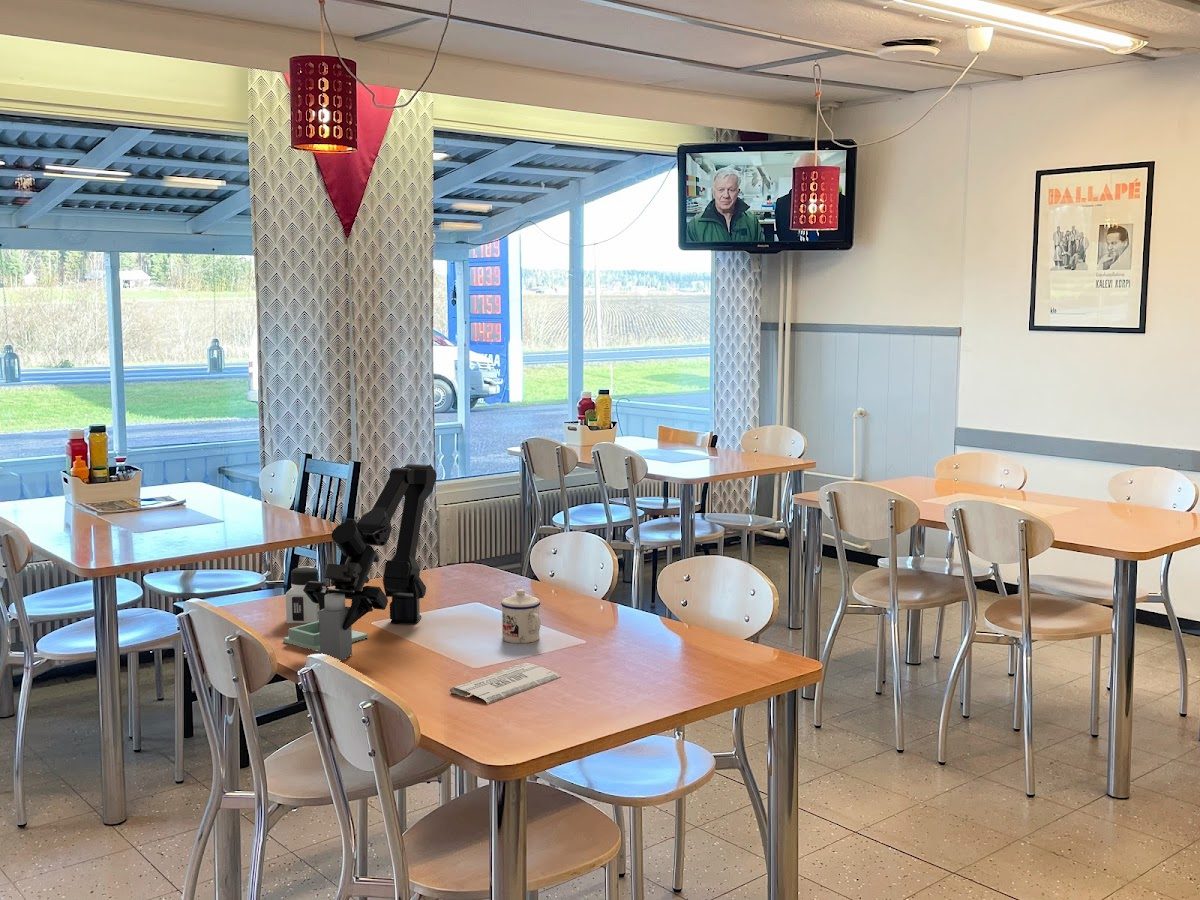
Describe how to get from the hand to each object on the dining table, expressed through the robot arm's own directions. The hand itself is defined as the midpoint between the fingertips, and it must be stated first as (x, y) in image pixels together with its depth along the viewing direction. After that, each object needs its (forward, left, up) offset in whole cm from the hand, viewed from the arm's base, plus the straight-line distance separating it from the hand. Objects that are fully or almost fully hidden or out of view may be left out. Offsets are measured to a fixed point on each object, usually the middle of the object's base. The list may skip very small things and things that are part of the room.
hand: (332, 628), depth 254 cm
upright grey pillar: (0, -1, -7) cm, 7 cm away
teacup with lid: (-40, -17, -7) cm, 44 cm away
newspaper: (-39, +15, -8) cm, 43 cm away
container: (+16, -32, -7) cm, 36 cm away
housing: (+6, -14, -7) cm, 17 cm away
